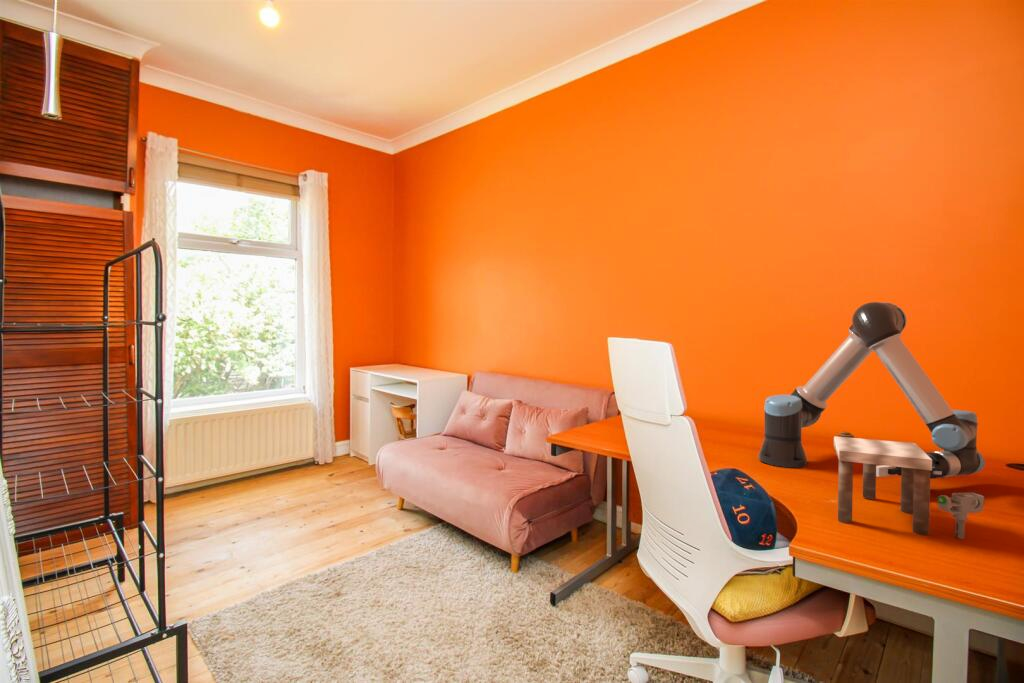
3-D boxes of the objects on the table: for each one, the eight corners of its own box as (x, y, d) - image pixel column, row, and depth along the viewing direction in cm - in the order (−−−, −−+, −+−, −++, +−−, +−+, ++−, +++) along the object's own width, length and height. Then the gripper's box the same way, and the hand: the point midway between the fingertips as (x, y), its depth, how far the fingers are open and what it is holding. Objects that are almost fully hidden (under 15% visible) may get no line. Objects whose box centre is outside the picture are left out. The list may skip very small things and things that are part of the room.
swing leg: (880, 508, 133) (881, 453, 133) (866, 506, 135) (867, 452, 134) (874, 496, 142) (875, 445, 142) (862, 494, 144) (862, 444, 143)
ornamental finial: (836, 449, 197) (859, 452, 192) (832, 452, 192) (855, 456, 187) (836, 429, 197) (859, 431, 192) (832, 432, 192) (855, 435, 186)
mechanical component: (933, 535, 117) (934, 493, 116) (973, 534, 118) (974, 491, 117) (945, 541, 114) (946, 497, 113) (986, 539, 115) (987, 496, 114)
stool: (838, 522, 125) (839, 450, 125) (832, 499, 141) (833, 436, 140) (930, 536, 116) (932, 459, 116) (913, 511, 132) (915, 443, 132)
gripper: (960, 483, 144) (899, 491, 137) (913, 471, 156) (855, 477, 150) (961, 457, 144) (899, 464, 137) (913, 447, 156) (855, 453, 150)
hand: (876, 471), depth 144 cm, fingers closed
